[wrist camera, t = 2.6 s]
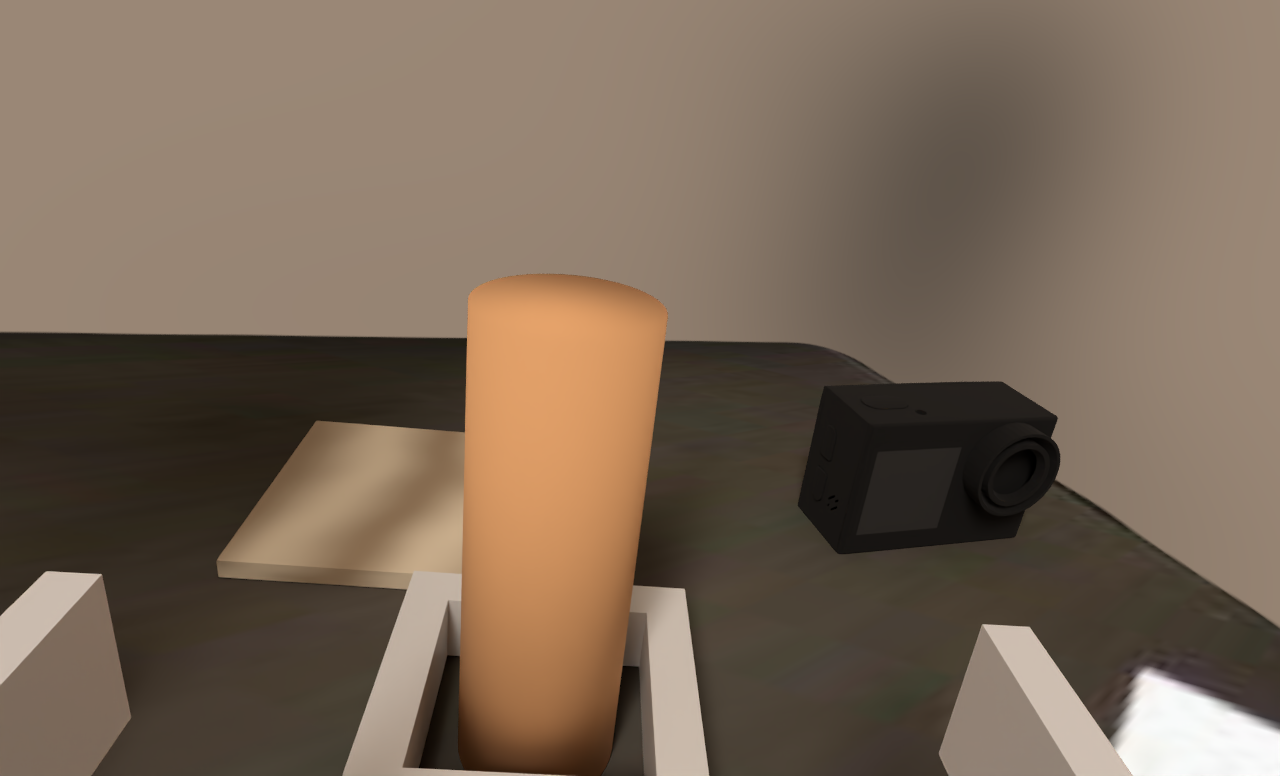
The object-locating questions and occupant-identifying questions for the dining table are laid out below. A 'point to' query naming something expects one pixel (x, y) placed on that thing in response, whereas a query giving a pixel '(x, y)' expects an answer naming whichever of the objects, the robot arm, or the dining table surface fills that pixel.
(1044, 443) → the digital camera
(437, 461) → the birch pad
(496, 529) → the copper rod
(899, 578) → the dining table surface
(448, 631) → the collar
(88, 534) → the dining table surface
